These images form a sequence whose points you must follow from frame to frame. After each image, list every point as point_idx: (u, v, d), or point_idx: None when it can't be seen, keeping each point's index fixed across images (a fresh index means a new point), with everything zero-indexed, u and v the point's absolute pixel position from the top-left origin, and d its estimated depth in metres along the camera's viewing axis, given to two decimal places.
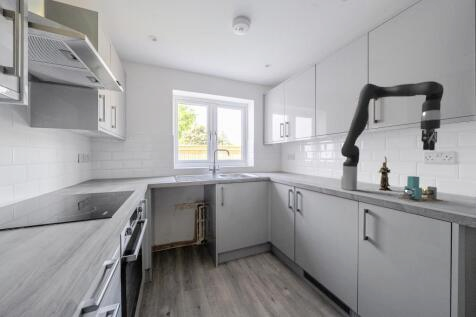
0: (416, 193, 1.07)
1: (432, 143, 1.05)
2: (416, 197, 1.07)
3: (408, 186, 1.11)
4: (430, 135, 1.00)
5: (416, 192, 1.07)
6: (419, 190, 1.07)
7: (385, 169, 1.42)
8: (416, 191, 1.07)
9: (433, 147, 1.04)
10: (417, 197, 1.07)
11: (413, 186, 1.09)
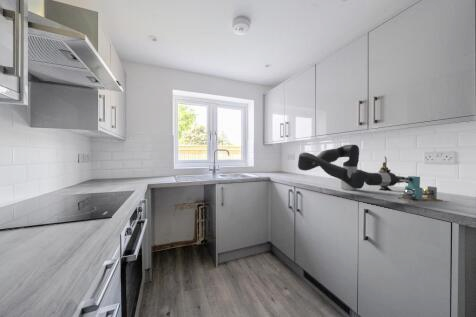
0: (417, 193, 1.07)
1: (404, 178, 1.09)
2: (417, 197, 1.07)
3: (409, 186, 1.11)
4: None
5: (417, 192, 1.07)
6: (420, 190, 1.07)
7: (385, 169, 1.42)
8: (417, 191, 1.07)
9: (408, 178, 1.10)
10: (418, 197, 1.07)
11: (414, 186, 1.09)
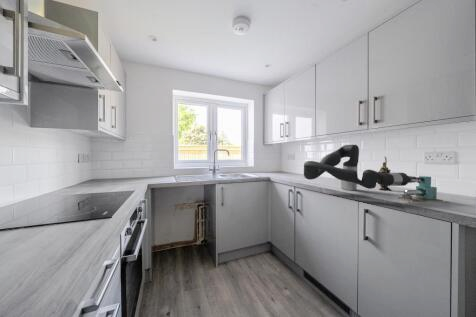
0: (428, 193, 1.08)
1: (415, 178, 1.10)
2: (428, 197, 1.08)
3: (420, 186, 1.12)
4: (412, 177, 1.08)
5: (428, 192, 1.08)
6: (431, 190, 1.08)
7: (385, 169, 1.42)
8: (428, 191, 1.08)
9: (419, 177, 1.11)
10: (429, 197, 1.08)
11: (425, 186, 1.10)
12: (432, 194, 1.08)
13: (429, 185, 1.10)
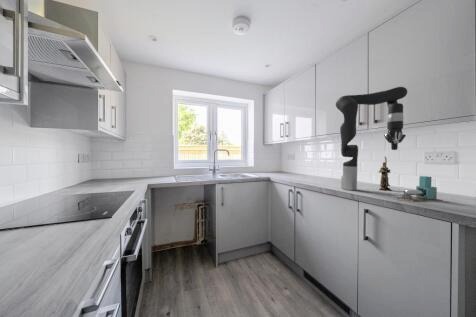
0: (428, 193, 1.08)
1: None
2: (428, 197, 1.08)
3: (420, 186, 1.12)
4: None
5: (428, 192, 1.08)
6: (431, 190, 1.08)
7: (385, 169, 1.42)
8: (428, 191, 1.08)
9: None
10: (429, 197, 1.08)
11: (425, 186, 1.10)
12: (432, 194, 1.08)
13: (429, 185, 1.10)
